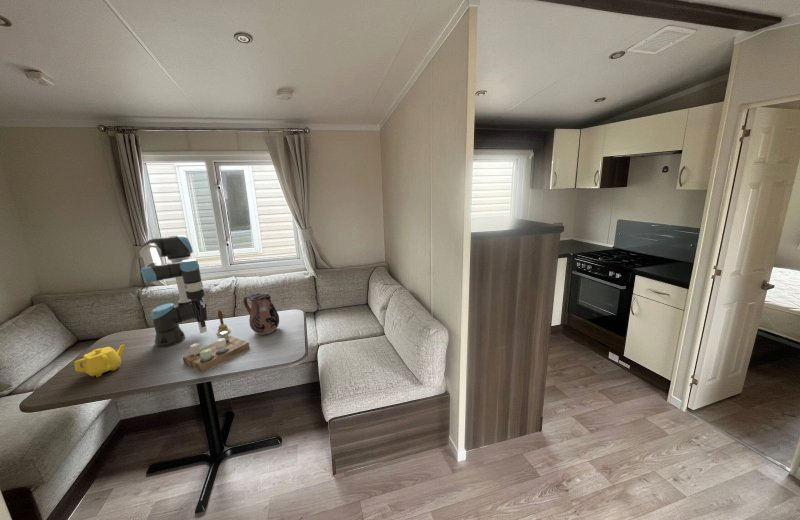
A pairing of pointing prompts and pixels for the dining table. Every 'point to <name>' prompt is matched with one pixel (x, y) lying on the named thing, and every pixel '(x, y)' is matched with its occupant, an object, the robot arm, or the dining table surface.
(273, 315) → the ceramic pitcher
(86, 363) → the teapot
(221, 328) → the hand bell
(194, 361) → the console
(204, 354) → the button sage
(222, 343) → the button ivory
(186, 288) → the robot arm
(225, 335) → the slider aluminium
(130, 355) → the dining table surface
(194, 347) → the slider ivory
